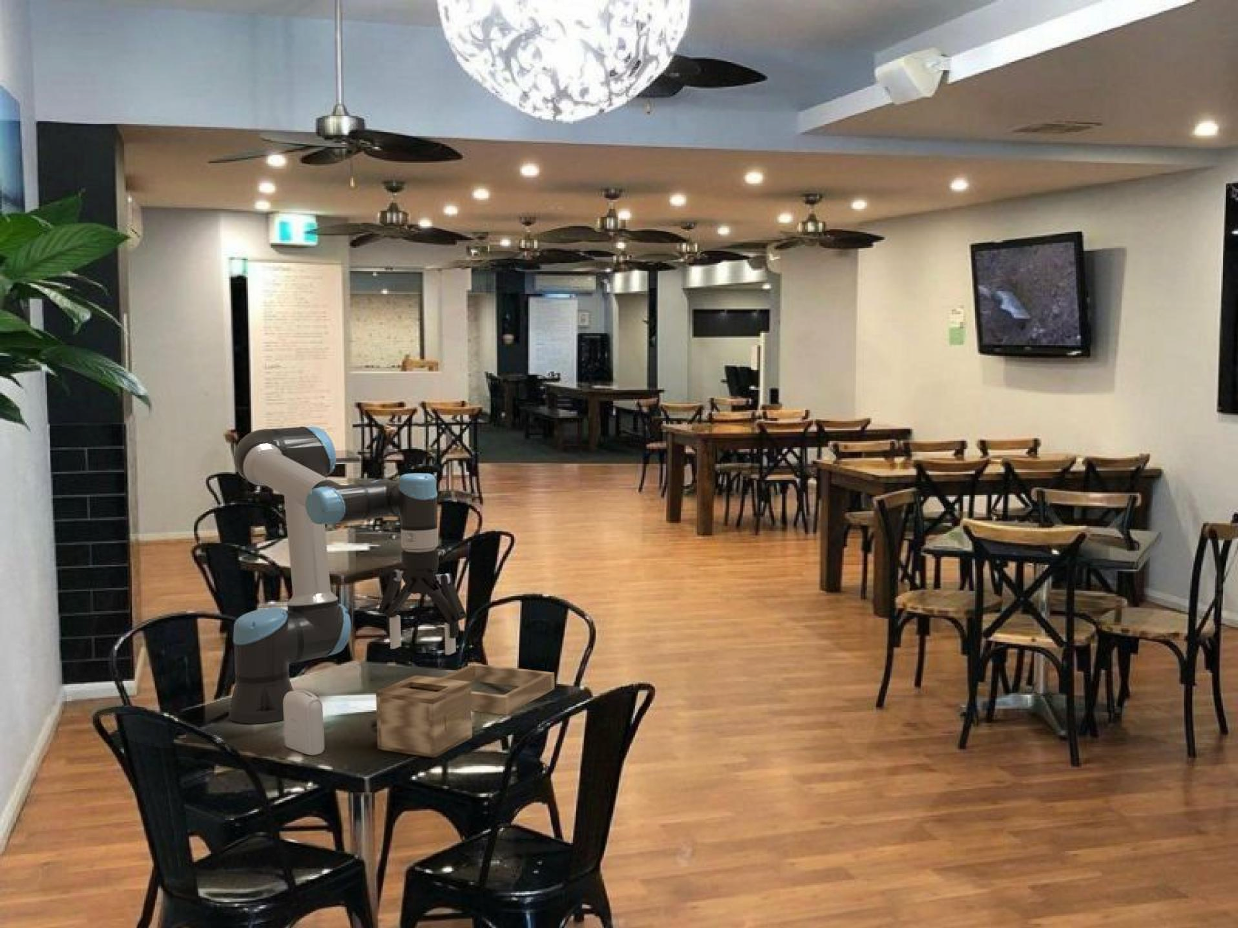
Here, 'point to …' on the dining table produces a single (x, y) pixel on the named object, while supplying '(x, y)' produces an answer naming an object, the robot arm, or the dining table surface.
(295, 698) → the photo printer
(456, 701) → the coin box
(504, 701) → the frame
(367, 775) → the dining table surface
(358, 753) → the dining table surface
